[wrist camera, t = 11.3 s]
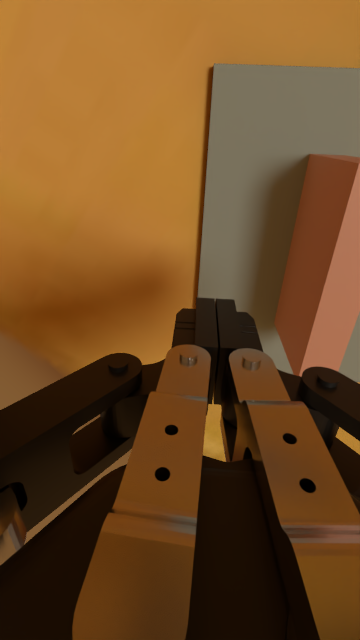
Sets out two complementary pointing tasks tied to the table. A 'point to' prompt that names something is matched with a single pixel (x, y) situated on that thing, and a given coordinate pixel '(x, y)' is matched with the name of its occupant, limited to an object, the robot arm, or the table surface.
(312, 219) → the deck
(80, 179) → the table surface
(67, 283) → the table surface
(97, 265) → the table surface
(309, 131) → the mat
